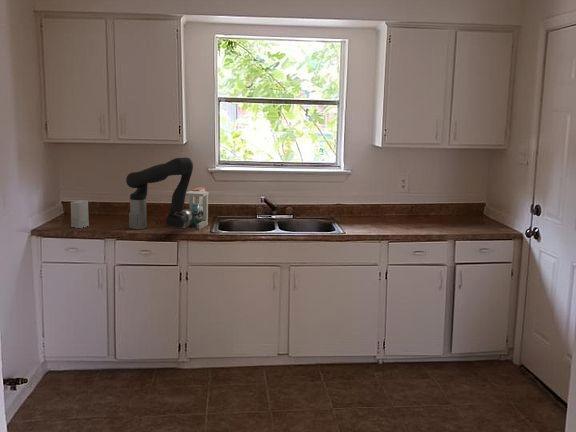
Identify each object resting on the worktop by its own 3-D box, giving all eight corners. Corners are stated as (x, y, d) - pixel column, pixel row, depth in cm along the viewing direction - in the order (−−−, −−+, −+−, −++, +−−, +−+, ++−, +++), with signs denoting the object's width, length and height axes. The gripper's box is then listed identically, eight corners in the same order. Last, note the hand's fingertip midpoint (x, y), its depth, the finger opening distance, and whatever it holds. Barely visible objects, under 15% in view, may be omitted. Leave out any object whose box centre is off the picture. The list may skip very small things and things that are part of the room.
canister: (195, 227, 354) (195, 204, 352) (189, 226, 357) (189, 203, 354) (201, 226, 359) (201, 203, 356) (194, 225, 361) (194, 202, 359)
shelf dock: (200, 229, 348) (200, 195, 345) (180, 228, 350) (180, 194, 347) (208, 224, 364) (208, 191, 360) (190, 223, 366) (190, 190, 362)
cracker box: (199, 222, 370) (199, 189, 366) (190, 221, 371) (190, 189, 368) (206, 218, 384) (207, 187, 380) (198, 218, 385) (198, 186, 381)
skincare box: (80, 225, 348) (80, 199, 346) (89, 226, 346) (88, 200, 343) (70, 227, 341) (69, 201, 338) (79, 229, 338) (78, 202, 336)
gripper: (197, 210, 338) (205, 206, 354) (174, 208, 340) (183, 204, 356) (197, 223, 339) (205, 218, 355) (174, 221, 342) (183, 216, 357)
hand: (194, 211), depth 355 cm, fingers open, 8 cm apart
